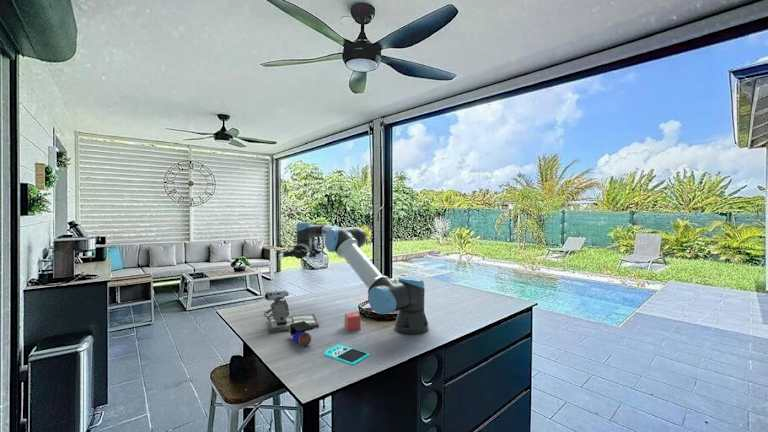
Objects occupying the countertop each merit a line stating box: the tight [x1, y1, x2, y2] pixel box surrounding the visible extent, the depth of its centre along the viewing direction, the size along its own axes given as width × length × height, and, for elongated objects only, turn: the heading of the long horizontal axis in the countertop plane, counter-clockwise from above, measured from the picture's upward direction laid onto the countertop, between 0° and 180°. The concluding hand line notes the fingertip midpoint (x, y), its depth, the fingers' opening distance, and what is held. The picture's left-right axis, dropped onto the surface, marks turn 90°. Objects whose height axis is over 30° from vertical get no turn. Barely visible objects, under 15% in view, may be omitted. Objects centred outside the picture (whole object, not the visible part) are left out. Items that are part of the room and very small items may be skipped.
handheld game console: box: [323, 343, 371, 366], centre depth 131 cm, size 10×16×1 cm, turn 54°
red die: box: [344, 311, 362, 331], centre depth 158 cm, size 6×6×6 cm
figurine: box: [263, 289, 290, 326], centre depth 160 cm, size 9×12×15 cm
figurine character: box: [288, 321, 314, 347], centre depth 144 cm, size 7×8×15 cm
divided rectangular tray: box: [267, 313, 320, 334], centre depth 163 cm, size 16×22×2 cm
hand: (293, 257), depth 172 cm, fingers open, 13 cm apart
